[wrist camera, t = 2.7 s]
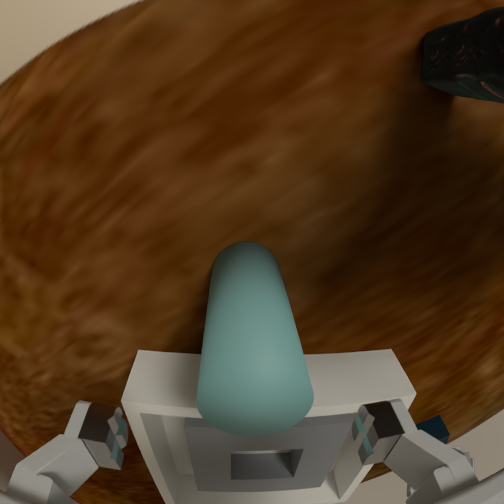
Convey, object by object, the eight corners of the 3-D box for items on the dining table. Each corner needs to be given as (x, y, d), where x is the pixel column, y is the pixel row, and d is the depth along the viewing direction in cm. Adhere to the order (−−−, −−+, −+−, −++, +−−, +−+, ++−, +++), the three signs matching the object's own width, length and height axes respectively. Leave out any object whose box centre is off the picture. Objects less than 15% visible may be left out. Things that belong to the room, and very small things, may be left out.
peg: (281, 242, 18) (323, 362, 9) (276, 301, 20) (304, 433, 11) (212, 240, 18) (192, 363, 9) (212, 300, 20) (200, 435, 11)
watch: (445, 431, 29) (477, 496, 19) (388, 455, 30) (413, 527, 20) (453, 407, 27) (492, 479, 17) (391, 434, 28) (421, 515, 18)
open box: (391, 348, 22) (416, 393, 18) (337, 467, 30) (345, 501, 25) (138, 349, 21) (120, 400, 17) (171, 470, 29) (167, 506, 24)
